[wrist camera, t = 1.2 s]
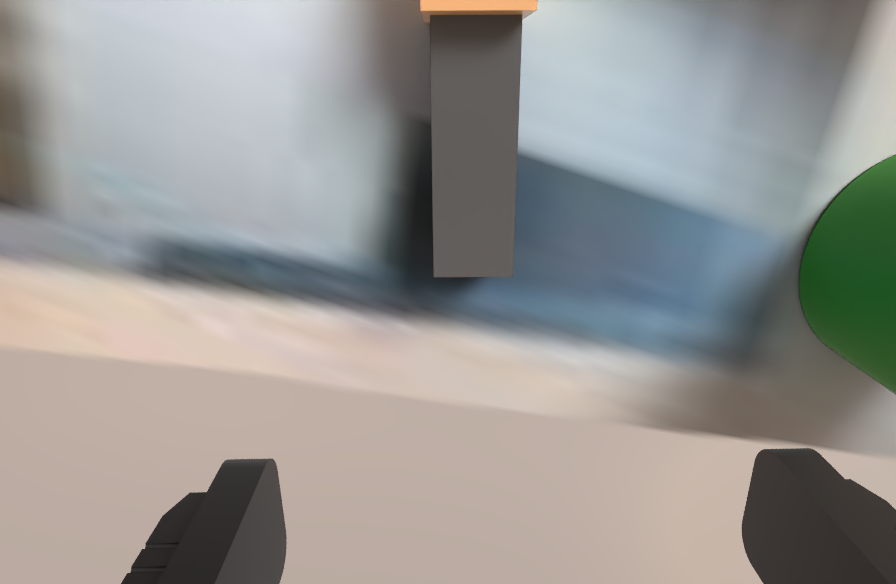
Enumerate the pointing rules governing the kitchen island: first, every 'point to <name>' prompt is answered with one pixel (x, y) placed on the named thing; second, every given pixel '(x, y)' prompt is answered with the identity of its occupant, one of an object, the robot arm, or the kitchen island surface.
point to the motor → (856, 274)
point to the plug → (474, 132)
